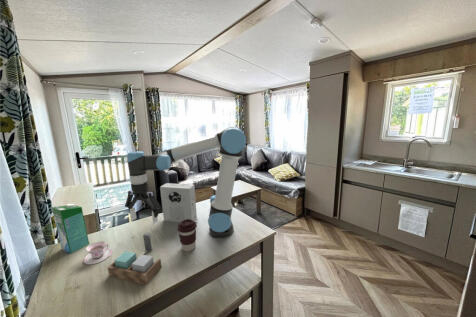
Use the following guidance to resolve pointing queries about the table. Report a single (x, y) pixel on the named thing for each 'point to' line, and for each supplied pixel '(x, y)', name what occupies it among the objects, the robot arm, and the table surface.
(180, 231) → the coffee cup
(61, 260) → the table surface
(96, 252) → the teacup
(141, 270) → the slate block
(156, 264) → the wooden tray
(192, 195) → the cereal box
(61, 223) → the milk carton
